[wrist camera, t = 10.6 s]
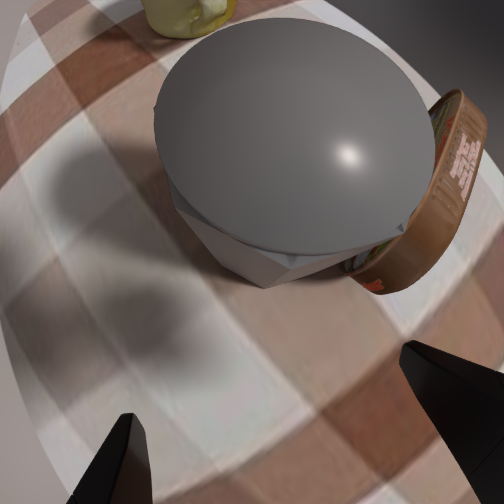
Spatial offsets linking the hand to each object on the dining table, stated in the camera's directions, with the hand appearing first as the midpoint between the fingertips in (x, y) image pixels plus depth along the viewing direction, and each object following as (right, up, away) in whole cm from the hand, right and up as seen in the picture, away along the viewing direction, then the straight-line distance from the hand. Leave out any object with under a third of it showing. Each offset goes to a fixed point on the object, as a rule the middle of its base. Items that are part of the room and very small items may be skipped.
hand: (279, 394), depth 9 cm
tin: (+9, +8, +12) cm, 17 cm away
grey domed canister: (0, +6, +11) cm, 12 cm away
